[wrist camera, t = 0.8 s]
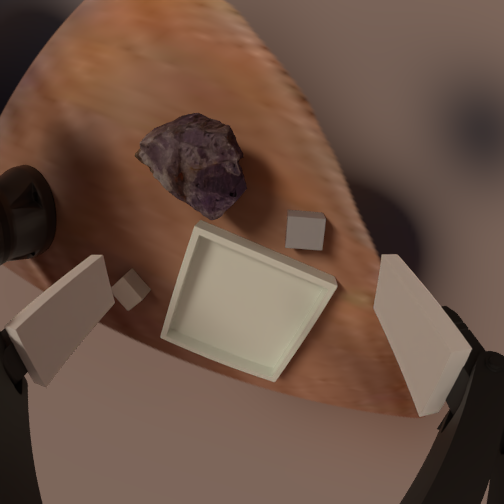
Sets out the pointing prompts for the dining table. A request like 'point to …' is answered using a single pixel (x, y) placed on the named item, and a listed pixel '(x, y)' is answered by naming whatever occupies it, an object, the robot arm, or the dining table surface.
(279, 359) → the dish
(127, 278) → the matte grey cube
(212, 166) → the rock
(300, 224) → the squat grey cube
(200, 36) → the dining table surface
